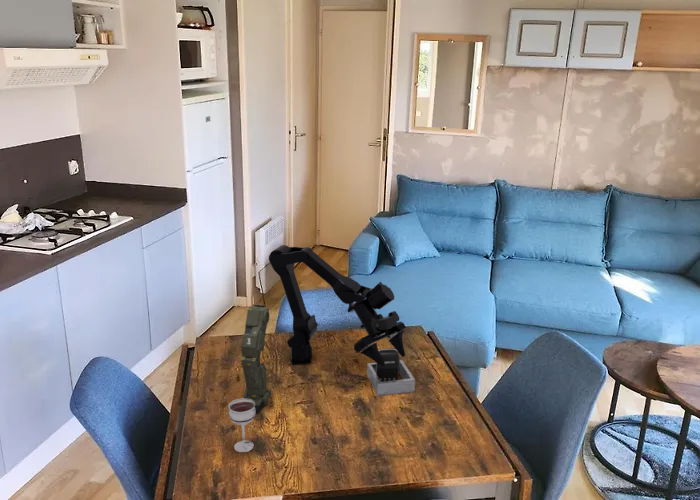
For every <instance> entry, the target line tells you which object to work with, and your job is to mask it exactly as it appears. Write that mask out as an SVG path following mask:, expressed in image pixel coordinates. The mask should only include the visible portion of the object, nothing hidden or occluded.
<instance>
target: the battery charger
mask: <svg viewBox="0 0 700 500" xmlns="http://www.w3.org/2000/svg"><path fill="white" fill-rule="evenodd" d="M377 350H378V351H379V353H380V355H381V357H382V359H383V361H384V363H385V366H384V367H382V366H381V365H379V364H378V363H377V362H375V363H376V374H377V376H378V378H379V380H380V382H384V381H393V380H399V373H398V369H399V360H400V354H399V352H398V351H397V350H396V349H395V348H379V349H377Z"/></svg>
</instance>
